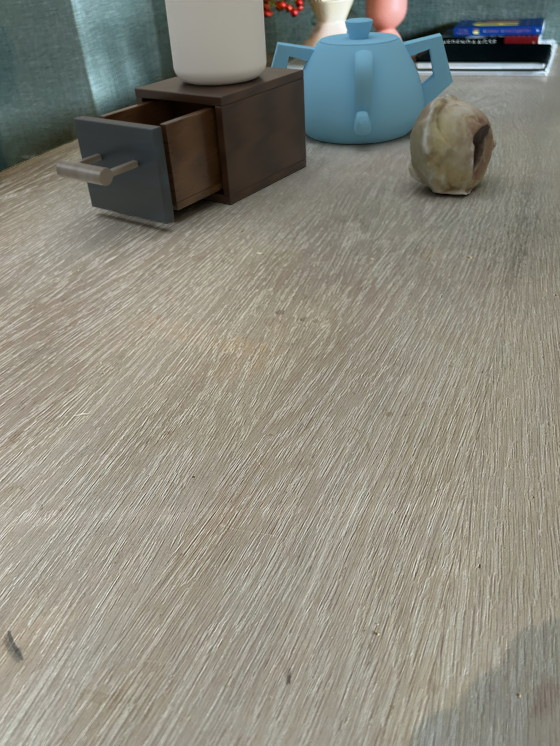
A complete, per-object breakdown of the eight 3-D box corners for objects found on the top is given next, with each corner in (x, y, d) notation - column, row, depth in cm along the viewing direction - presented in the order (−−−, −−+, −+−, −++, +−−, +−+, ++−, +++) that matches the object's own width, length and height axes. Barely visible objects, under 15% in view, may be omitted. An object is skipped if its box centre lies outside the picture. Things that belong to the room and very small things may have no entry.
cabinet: (230, 204, 71) (220, 97, 65) (150, 188, 77) (133, 88, 71) (306, 166, 81) (303, 69, 75) (230, 154, 87) (221, 63, 81)
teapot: (453, 126, 92) (462, 12, 84) (357, 159, 82) (358, 33, 74) (351, 107, 105) (351, 7, 97) (257, 134, 95) (249, 25, 87)
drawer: (129, 242, 61) (110, 143, 56) (53, 222, 67) (30, 130, 62) (250, 182, 74) (244, 97, 69) (178, 170, 79) (168, 89, 74)
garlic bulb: (421, 219, 71) (398, 134, 65) (412, 180, 77) (389, 100, 71) (512, 191, 69) (497, 100, 62) (495, 153, 75) (479, 66, 68)
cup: (182, 71, 77) (170, -29, 72) (269, 67, 77) (263, -35, 71) (168, 90, 69) (152, -23, 63) (265, 85, 68) (258, -29, 63)
